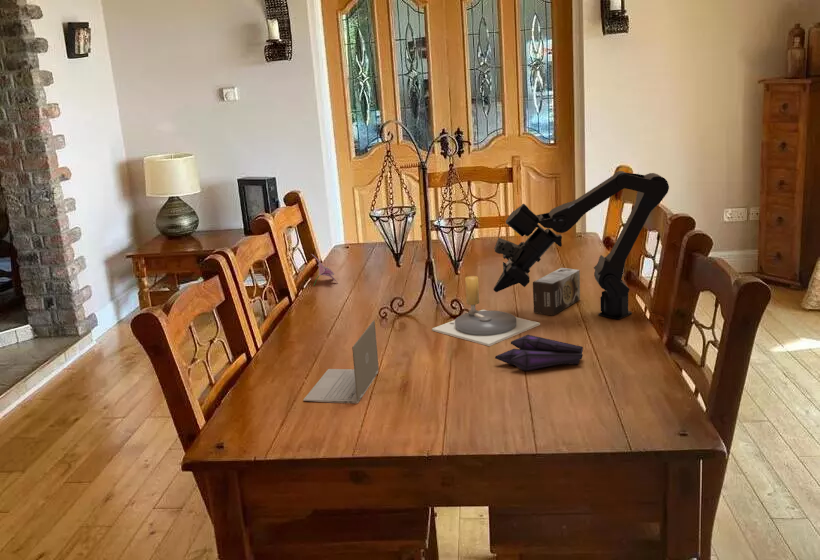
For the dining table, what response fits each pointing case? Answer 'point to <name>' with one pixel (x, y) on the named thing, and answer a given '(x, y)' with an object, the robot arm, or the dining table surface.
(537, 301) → the coffee box
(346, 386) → the laptop
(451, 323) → the panel
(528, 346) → the crystal
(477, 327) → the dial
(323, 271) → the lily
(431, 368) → the dining table surface
